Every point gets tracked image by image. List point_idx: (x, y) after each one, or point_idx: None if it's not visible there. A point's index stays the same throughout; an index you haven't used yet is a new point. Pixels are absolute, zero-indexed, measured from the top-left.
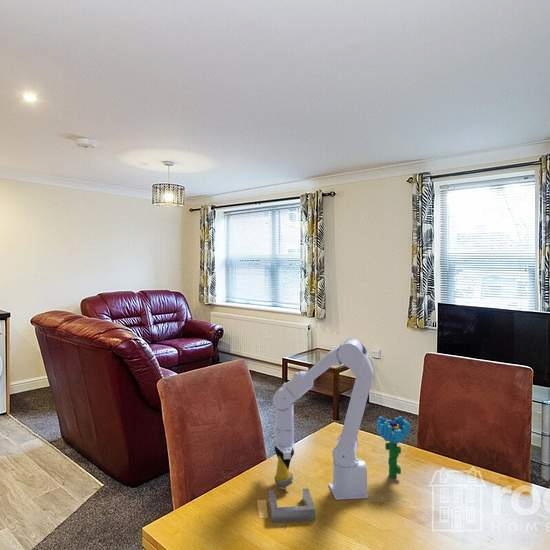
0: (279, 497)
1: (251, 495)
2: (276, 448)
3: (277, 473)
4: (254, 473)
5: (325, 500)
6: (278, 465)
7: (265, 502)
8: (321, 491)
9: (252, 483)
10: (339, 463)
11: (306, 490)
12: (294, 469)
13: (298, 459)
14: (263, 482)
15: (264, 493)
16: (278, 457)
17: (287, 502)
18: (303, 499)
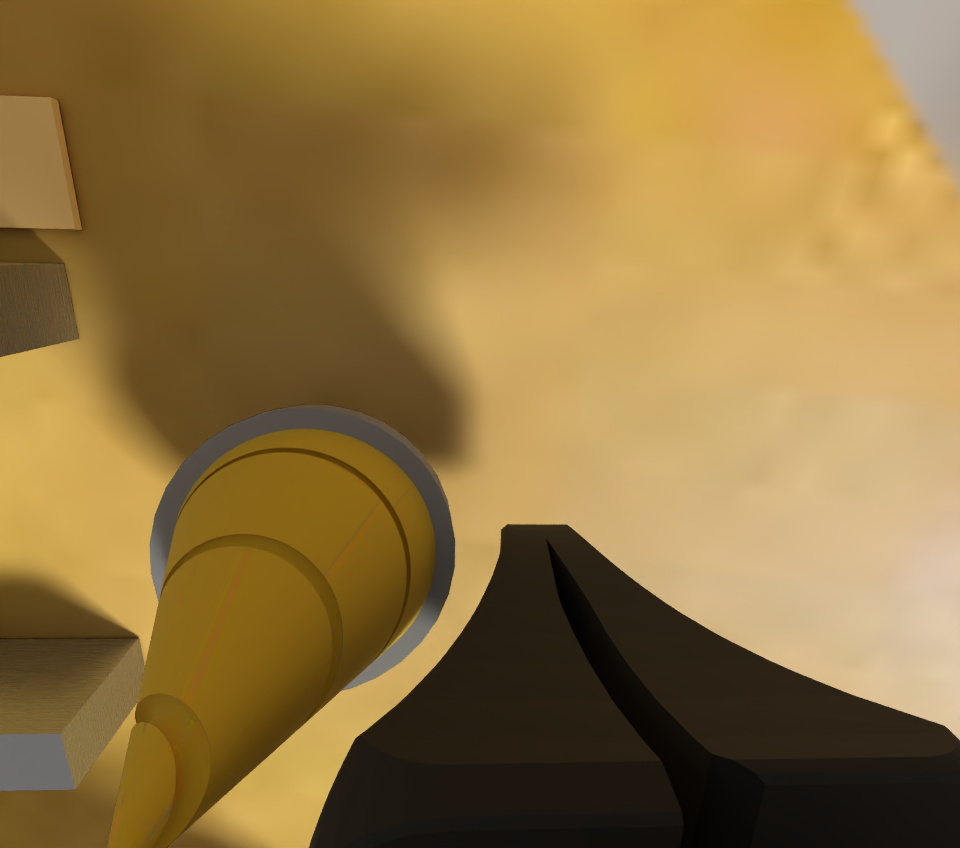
0: (164, 410)
1: (195, 18)
2: (791, 835)
3: (225, 496)
4: (793, 128)
5: None
6: (176, 608)
7: (2, 215)
8: (289, 804)
9: (521, 66)
10: None
11: (20, 767)
12: (746, 640)
13: (942, 704)
14: (525, 243)
15: (250, 228)
16: (406, 706)
17: (67, 485)
18: (66, 659)
